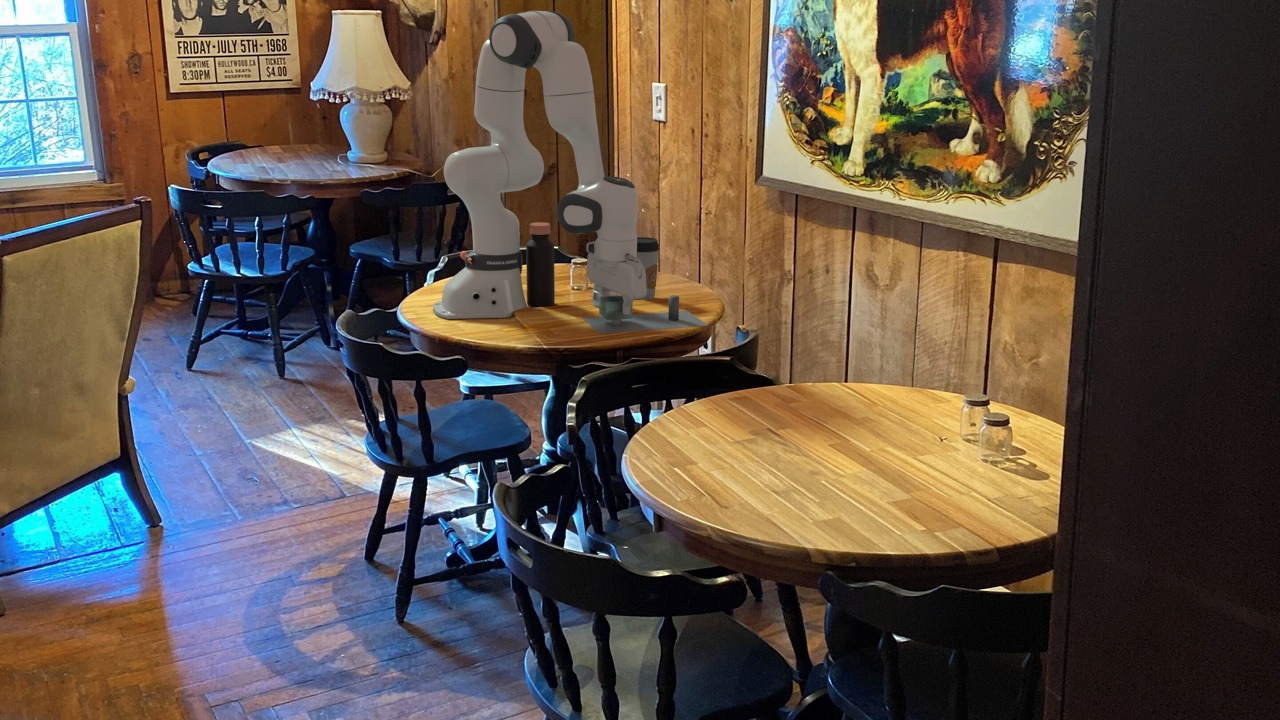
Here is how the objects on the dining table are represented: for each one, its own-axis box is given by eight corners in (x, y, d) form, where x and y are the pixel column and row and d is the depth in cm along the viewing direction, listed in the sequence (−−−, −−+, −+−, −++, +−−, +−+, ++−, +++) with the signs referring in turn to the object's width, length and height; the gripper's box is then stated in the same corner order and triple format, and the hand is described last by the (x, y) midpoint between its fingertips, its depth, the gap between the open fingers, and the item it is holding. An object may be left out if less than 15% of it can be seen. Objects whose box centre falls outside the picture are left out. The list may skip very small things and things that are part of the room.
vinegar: (548, 309, 286) (547, 227, 280) (522, 306, 288) (521, 225, 282) (558, 302, 292) (558, 222, 286) (533, 300, 294) (532, 220, 288)
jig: (600, 338, 262) (600, 309, 260) (582, 322, 274) (582, 295, 272) (708, 329, 270) (709, 301, 268) (686, 314, 282) (687, 288, 281)
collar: (607, 320, 266) (607, 303, 265) (599, 313, 271) (599, 296, 270) (632, 318, 268) (632, 301, 267) (623, 311, 273) (624, 295, 272)
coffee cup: (645, 304, 292) (646, 244, 287) (618, 299, 296) (619, 240, 292) (665, 298, 298) (666, 239, 294) (638, 293, 303) (639, 235, 298)
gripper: (654, 257, 258) (652, 318, 263) (606, 240, 275) (605, 298, 279) (630, 260, 255) (628, 322, 259) (582, 242, 272) (581, 301, 276)
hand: (616, 309), depth 269 cm, fingers closed on collar, 7 cm apart
